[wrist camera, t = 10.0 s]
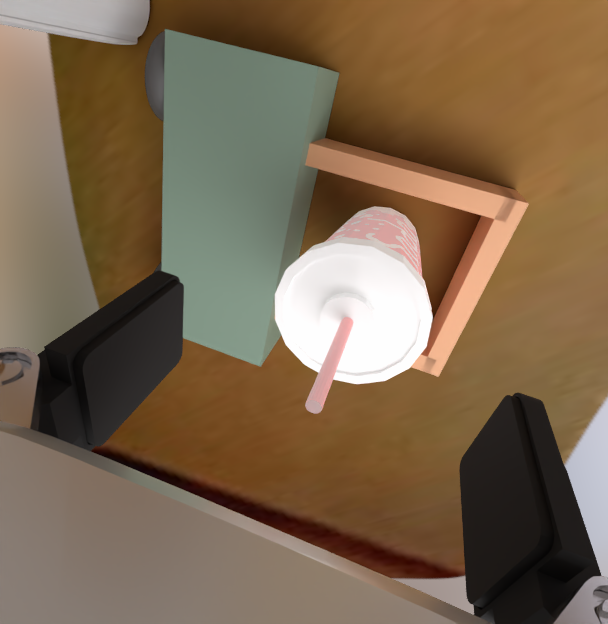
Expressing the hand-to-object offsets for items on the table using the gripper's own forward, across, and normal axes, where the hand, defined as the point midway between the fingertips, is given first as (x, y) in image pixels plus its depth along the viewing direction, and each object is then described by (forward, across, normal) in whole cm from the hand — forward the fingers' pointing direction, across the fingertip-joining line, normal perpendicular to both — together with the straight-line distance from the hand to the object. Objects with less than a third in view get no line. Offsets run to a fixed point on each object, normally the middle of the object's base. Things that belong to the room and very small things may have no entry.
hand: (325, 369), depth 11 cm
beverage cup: (+13, 0, +1) cm, 13 cm away
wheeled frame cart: (+13, +3, +1) cm, 14 cm away
